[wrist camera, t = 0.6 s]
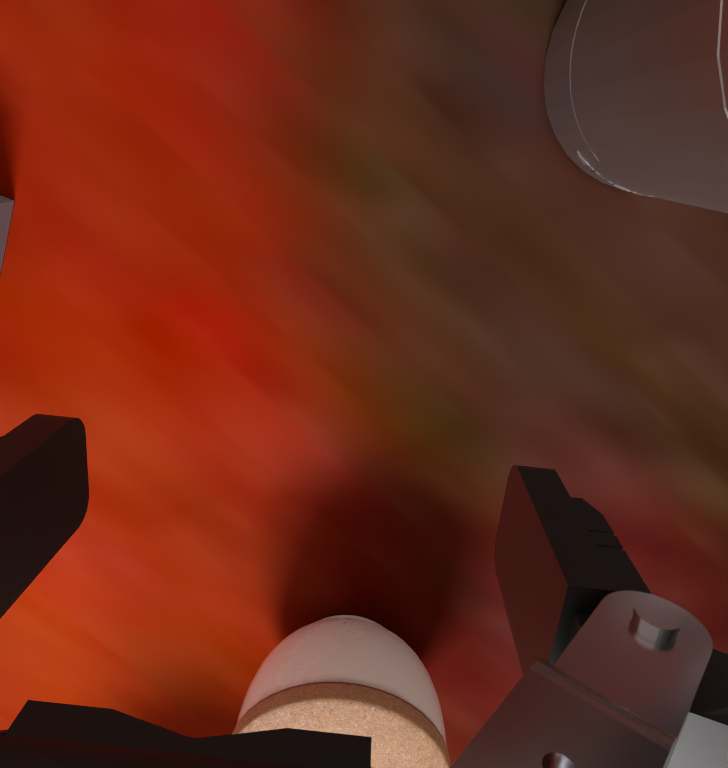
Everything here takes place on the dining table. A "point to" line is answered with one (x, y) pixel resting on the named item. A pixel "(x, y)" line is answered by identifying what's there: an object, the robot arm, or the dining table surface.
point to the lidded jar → (350, 691)
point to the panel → (4, 224)
